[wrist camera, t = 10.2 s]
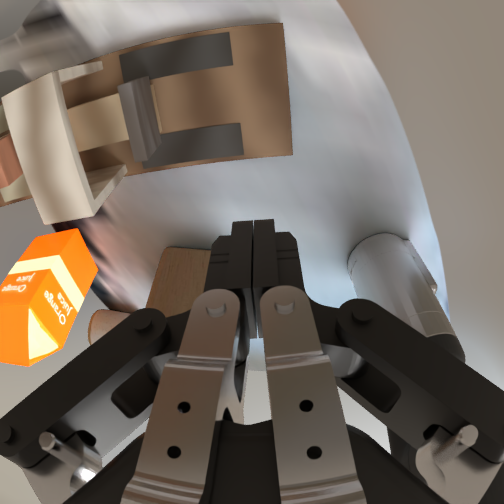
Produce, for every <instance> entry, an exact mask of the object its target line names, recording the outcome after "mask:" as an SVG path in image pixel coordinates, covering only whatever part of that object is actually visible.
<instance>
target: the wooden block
mask: <svg viewBox="0 0 504 504" xmlns="http://www.w3.org/2000/svg"><path fill="white" fill-rule="evenodd" d="M210 254H211V250H202V249H190V248H178V247H168V248H166V249H164V251H163V254H162V256H161V259H160V262H159V266H158V269H157V272H156V275H155V278H154V281H153V284H152V288H151V291H150V294H149V298H148V301H147V304H146V308H155V309H158V310H160V311H161V312H162V313H163V314H164V315H165V317H170V316H173V315H177V314H180V313H183V312H186V311H188V310H190V309H191V308H192V305H193V303H194V301H195V299H196V298H197V297H198V296H200V295H201V294H202V293H203V291H204V286H205V280H206V275H207V269H208V264H209V259H210Z"/></svg>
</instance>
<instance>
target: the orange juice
mask: <svg viewBox="0 0 504 504" xmlns="http://www.w3.org/2000/svg"><path fill="white" fill-rule="evenodd" d="M97 271H98V269H97V267H96V265H95V263H94V261H93V259H92V257H91V255H90V253H89V251H88V249H87V247H86V245H85V243H84V241H83V239H82V237H81V234H80V232H79V230H78V228H76V229H72V230H67V231H62V232H57V233H53V234H48V235H44V236H39V237H36V238H35V239H34V240H33V242H32V243H31V244H30V246H29V247H28V248H27V250H26V251H25V252H24V253H23V255H22V256H21V257H20V259H19V260H18V262H16V264H15V265H14V267H13V268H12V269H11V271H10V272H9V274H8V276H7V277H6V279H5V280H4V282H3V283H2V285H1V286H0V362H3V363H9V364H15V365H22V366H30V365H32V364H34V363H36V362H38V361H40V360H41V359H43V358H45V357H47V356H49V355H51V354H52V353H54V352H56V351H58V350H60V349H62V348H63V345H64V343H65V341H66V338H67V335H68V333H69V331H70V329H71V326H72V324H73V322H74V319H75V317H76V315H77V313H78V311H79V309H80V307H81V305H82V303H83V301H84V298H85V295H86V293H87V291H88V289H89V287H90V285H91V283H92V281H93V279H94V277H95V275H96V273H97Z"/></svg>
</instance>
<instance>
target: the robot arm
mask: <svg viewBox="0 0 504 504" xmlns="http://www.w3.org/2000/svg"><path fill="white" fill-rule="evenodd" d="M348 271H349V274H350V277H351V281H352V283H353V285H354V288H355V291H356V294H357V297H358V298H357V299H352V300H349V301H346V302H345V303H343V304H342V305H341V306H340V308H334V307H328V306H324V305H321V304H318V303H316V302H314V301H313V300H312V299H311V298H309V297H308V295H307V294H306V292H305V289H304V283H303V277H302V271H301V265H300V259H299V253H298V247H297V241H296V239H295V238H294V237H293V235H292V234H291V233H290V232H275V228H274V219H266V220H254V226H253V220H252V221H237V222H233V224H232V232H231V235H229V236H219V237H218V239H217V240H216V241H215V242H214V243H213V245H212V249H211V254H210V259H209V264H208V269H207V275H206V280H205V286H204V291H203V293H202V294H201V295H200V296H198V297H197V298H196V299H195V301H194V303H193V305H192V308H191V309H190V310H188V311H186V312H183V313H180V314H177V315H173V316H170V317H165V315H164V314H163V313H162V312H161V311H160V310H158V309H155V308H143V309H140V310H137V311H135V312H133V313H132V314H130V315H129V316H128V317H127V318H125V319H124V320H123V321H121V322H120V323H119V324H117V325H116V326H115V327H114V328H112V329H111V330H110V331H109V332H107V333H106V334H105V335H103V336H102V337H101V338H100V339H98V340H97V341H96V342H94V343H93V344H92V345H91V346H89V347H88V348H87V349H86V350H84V351H83V352H82V353H81V354H80V355H78V356H77V357H76V358H74V359H73V360H72V361H71V362H69V363H68V364H67V365H65V366H64V367H63V368H62V369H61V370H59V371H58V372H57V373H56V374H54V375H53V376H52V377H51V378H49V379H48V380H47V381H46V382H44V383H43V384H42V385H41V386H39V387H38V388H37V389H36V390H35V391H33V392H32V393H31V394H30V395H28V396H27V397H26V398H25V399H24V400H22V402H20V403H19V404H18V405H16V406H15V407H14V408H13V409H12V410H10V411H9V412H8V413H7V414H6V415H5V416H3V417H2V418H1V419H0V455H2V456H3V457H5V458H7V459H8V460H10V461H12V462H14V463H16V464H17V465H18V466H19V467H20V468H21V469H22V470H23V472H24V474H25V476H26V477H27V479H28V481H29V483H30V485H31V487H32V488H33V490H34V492H35V494H36V495H37V497H38V499H39V500H40V502H41V504H504V391H503V390H501V389H500V388H499V387H497V386H496V385H494V384H493V383H492V382H490V381H489V380H487V379H486V378H485V377H483V376H482V375H480V374H479V373H478V372H476V371H475V370H473V369H472V368H471V367H469V366H468V365H466V364H465V354H464V351H463V349H462V347H461V345H460V342H459V340H458V338H457V336H456V335H455V332H454V330H453V328H452V326H451V324H450V322H449V320H448V318H447V317H446V315H445V313H444V311H443V309H442V307H441V305H440V303H439V301H438V299H437V297H436V296H435V293H436V291H437V284H436V282H435V280H434V279H433V277H432V275H431V274H430V272H429V270H428V269H427V267H426V265H425V264H424V262H423V261H422V259H421V257H420V256H419V254H418V253H417V251H416V250H415V248H414V246H413V245H412V243H411V242H410V240H402V239H401V238H400V237H398V236H396V235H394V234H389V233H381V234H376V235H373V236H371V237H368V238H366V239H365V240H363V241H362V242H360V243H359V244H358V245H357V246H356V247H355V249H354V250H353V251H352V253H351V255H350V257H349V260H348ZM257 326H258V335H259V338H263V342H264V352H265V362H266V371H267V380H268V390H269V399H270V408H271V418H272V419H271V420H268V421H264V422H260V423H256V424H252V425H244V416H243V406H244V397H245V389H246V380H247V372H248V363H249V355H248V354H249V347H250V339H253V338H257ZM337 386H338V387H339V388H341V389H342V390H343V391H345V392H346V393H347V394H348V395H349V396H350V397H352V398H353V399H354V400H355V401H356V402H358V403H359V404H360V405H361V406H362V407H364V408H365V409H366V410H367V411H369V412H370V413H371V414H372V415H374V416H375V417H376V418H377V419H378V420H380V421H381V422H382V423H383V424H385V425H386V426H387V431H388V436H389V443H390V450H391V454H389V453H388V452H387V451H386V450H385V449H384V448H383V447H381V446H380V445H379V444H378V443H377V442H376V441H375V440H374V439H372V438H371V437H370V436H369V435H367V434H366V433H364V432H363V431H361V430H359V429H357V428H355V427H353V426H351V425H348V424H346V422H345V418H344V414H343V409H342V405H341V401H340V397H339V393H338V389H337ZM148 418H149V421H148V424H147V428H146V432H144V433H143V434H141V435H140V436H138V437H137V438H136V439H135V440H133V441H132V442H131V443H130V444H129V445H128V446H127V447H126V448H125V449H124V450H123V451H122V452H120V453H119V454H118V455H117V456H116V457H115V458H114V459H113V460H112V461H111V462H109V463H108V464H107V465H106V466H105V467H104V468H103V467H102V459H101V458H102V457H103V456H105V455H106V454H107V453H108V452H110V451H111V450H112V449H113V448H114V447H116V446H117V445H118V444H119V443H120V442H121V441H122V440H124V439H125V438H126V437H127V436H128V435H130V434H131V433H132V432H133V431H134V430H135V429H137V428H138V427H139V426H140V425H141V424H142V423H143V422H144V421H146V420H147V419H148Z"/></svg>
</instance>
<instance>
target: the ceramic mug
mask: <svg viewBox="0 0 504 504" xmlns="http://www.w3.org/2000/svg"><path fill="white" fill-rule="evenodd" d="M129 315H130V314H129V313H124V312H117V311H112V310H104V309H101V310H97V311H96V312H95V313H94V314H93V315H92V317H91V320H90V323H89V328H88V340H89V343H90V345H92V344H93V343H94V342H96V341H97V340H98V339H100V338H101V337H102V336H103V335H105V334H106V333H107V332H109V331H110V330H111V329H112V328H114V327H115V326H116V325H117V324H119V323H120V322H121V321H123V320H124V319H125V318H127V317H128V316H129Z"/></svg>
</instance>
